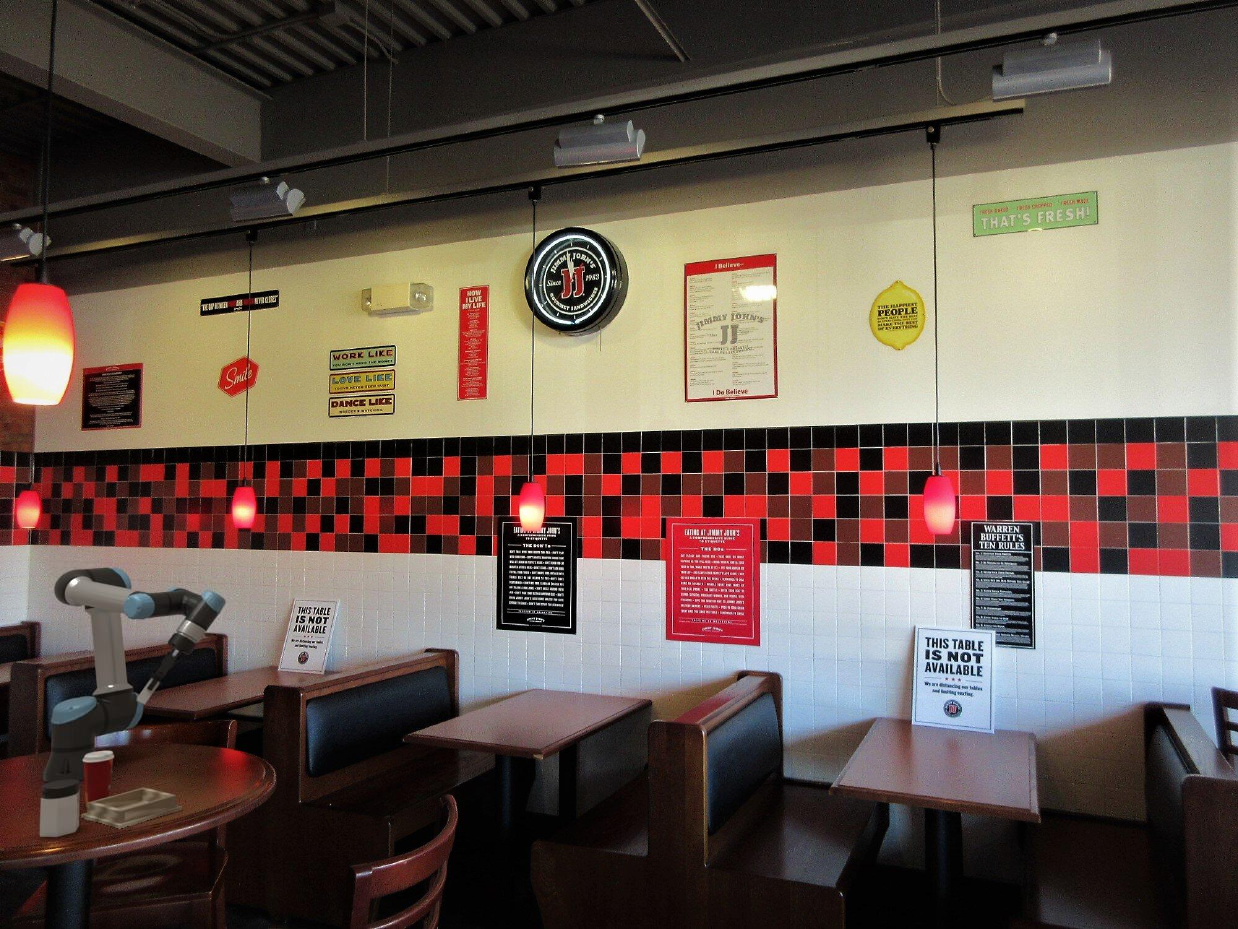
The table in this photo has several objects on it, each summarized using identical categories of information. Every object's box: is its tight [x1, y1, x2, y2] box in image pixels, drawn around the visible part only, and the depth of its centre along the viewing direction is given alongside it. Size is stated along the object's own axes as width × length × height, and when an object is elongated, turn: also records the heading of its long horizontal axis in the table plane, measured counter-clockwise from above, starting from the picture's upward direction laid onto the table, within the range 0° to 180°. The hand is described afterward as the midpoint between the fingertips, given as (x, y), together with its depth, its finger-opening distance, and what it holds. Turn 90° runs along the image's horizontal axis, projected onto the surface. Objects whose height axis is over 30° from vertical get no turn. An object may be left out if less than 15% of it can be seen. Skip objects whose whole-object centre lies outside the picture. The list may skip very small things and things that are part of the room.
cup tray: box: [80, 787, 183, 830], centre depth 235 cm, size 18×17×4 cm
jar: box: [39, 779, 81, 838], centre depth 222 cm, size 9×8×12 cm
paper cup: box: [83, 750, 115, 808], centre depth 244 cm, size 8×8×14 cm
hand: (140, 701), depth 256 cm, fingers open, 13 cm apart
